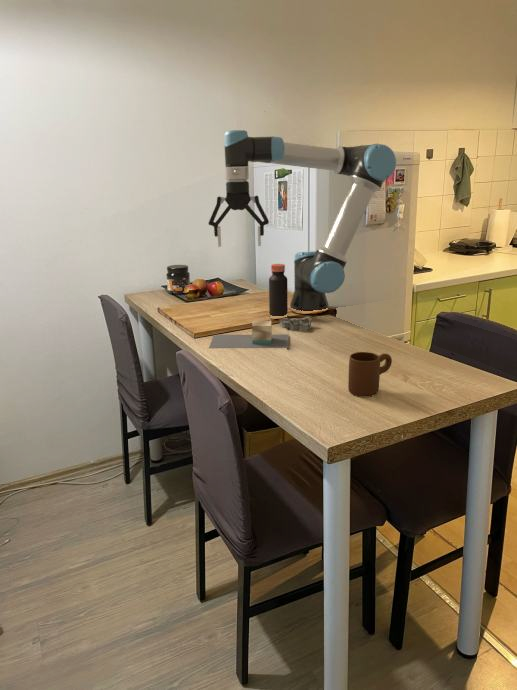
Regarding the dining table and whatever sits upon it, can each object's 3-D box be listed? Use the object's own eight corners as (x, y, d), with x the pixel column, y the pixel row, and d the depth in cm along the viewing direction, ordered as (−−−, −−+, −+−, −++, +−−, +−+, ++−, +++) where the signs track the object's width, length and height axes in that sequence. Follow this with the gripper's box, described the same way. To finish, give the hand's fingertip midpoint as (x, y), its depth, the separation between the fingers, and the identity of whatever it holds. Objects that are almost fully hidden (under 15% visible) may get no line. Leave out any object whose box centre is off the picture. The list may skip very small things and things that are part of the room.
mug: (380, 381, 143) (382, 347, 140) (399, 391, 137) (401, 355, 134) (342, 389, 138) (343, 354, 135) (359, 400, 132) (361, 363, 129)
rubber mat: (288, 336, 182) (288, 334, 182) (288, 349, 169) (288, 347, 169) (214, 336, 183) (214, 334, 183) (208, 349, 170) (208, 348, 170)
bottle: (267, 319, 202) (266, 266, 196) (272, 315, 208) (271, 263, 202) (285, 320, 200) (284, 266, 194) (289, 316, 206) (289, 263, 200)
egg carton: (313, 327, 192) (313, 316, 191) (304, 333, 186) (304, 321, 184) (286, 324, 197) (286, 313, 196) (276, 329, 191) (276, 318, 189)
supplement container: (163, 294, 246) (161, 268, 242) (174, 289, 255) (172, 264, 252) (184, 295, 243) (182, 268, 239) (194, 290, 252) (193, 264, 248)
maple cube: (252, 320, 177) (253, 338, 179) (251, 325, 171) (252, 343, 173) (271, 320, 177) (271, 338, 178) (270, 325, 171) (271, 343, 173)
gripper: (198, 182, 175) (201, 248, 182) (275, 180, 174) (276, 246, 181) (201, 181, 183) (204, 244, 189) (275, 179, 181) (276, 243, 188)
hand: (239, 246), depth 185 cm, fingers open, 13 cm apart
